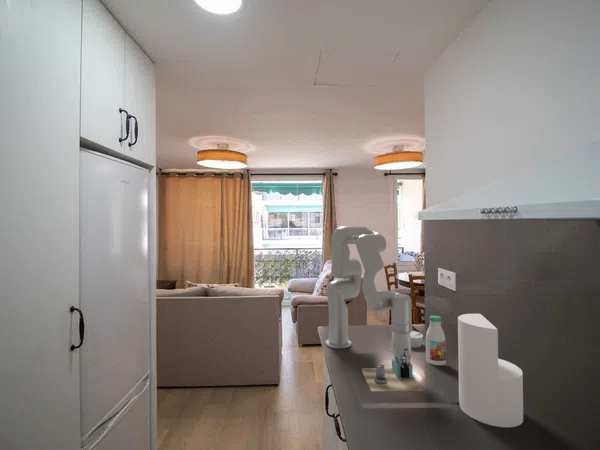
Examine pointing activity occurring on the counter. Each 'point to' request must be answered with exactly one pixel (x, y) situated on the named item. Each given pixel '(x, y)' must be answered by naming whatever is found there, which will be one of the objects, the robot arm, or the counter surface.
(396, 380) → the board
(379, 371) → the stud
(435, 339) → the milk bottle
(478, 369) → the white stepped round block
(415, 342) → the ramekin
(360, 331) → the counter surface
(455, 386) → the counter surface
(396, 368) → the teal knob cube
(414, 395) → the counter surface
